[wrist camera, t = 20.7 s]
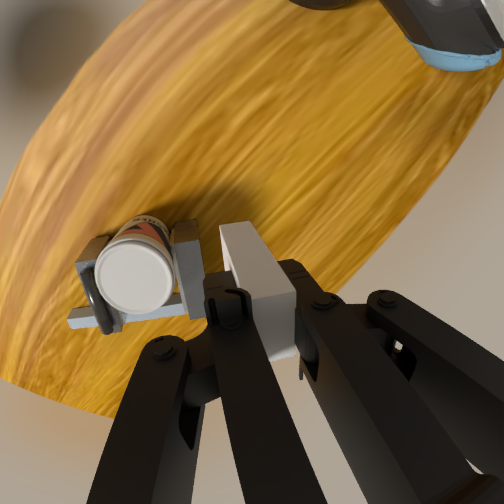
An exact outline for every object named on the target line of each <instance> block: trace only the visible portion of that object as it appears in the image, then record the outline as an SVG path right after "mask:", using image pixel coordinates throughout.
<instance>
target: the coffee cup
mask: <svg viewBox="0 0 504 504" xmlns="http://www.w3.org/2000/svg"><path fill="white" fill-rule="evenodd" d="M170 237H171V236H170V233H169V230H168V228H167V227H166V226H165V224H164V223H163V222H162V221H160V220H159V219H157V218H155V217H152V216H148V215H141V216H136V217H134V218H132V219H130V220H129V221H128V222H127V223H126V224H125V225H124V226H123V227H122V228H121V229H120V230H119V232H118V233H117V234H116V235H115V236H114V238H113V239H112V240H111V242H110V243H109V244H108V245H107V246H106V247H105V248H104V249H103V250H102V252H101V253H100V255H99V256H98V259H97V261H96V265H95V280H96V284H97V287H98V289H99V291H100V293H101V295H102V296H103V298H104V299H105V300H106V301H107V302H108V303H109V304H110V305H111V306H113V307H114V308H116V309H118V310H120V311H123V312H125V313H130V314H146V313H150V312H152V311H155V310H156V309H158V308H160V307H161V306H162V305H163V304H165V303H166V302H167V300H168V299H169V298H170V296H171V295H172V293H173V290H174V287H175V280H176V278H175V270H174V265H173V256H172V252H171V250H170Z"/></svg>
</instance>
